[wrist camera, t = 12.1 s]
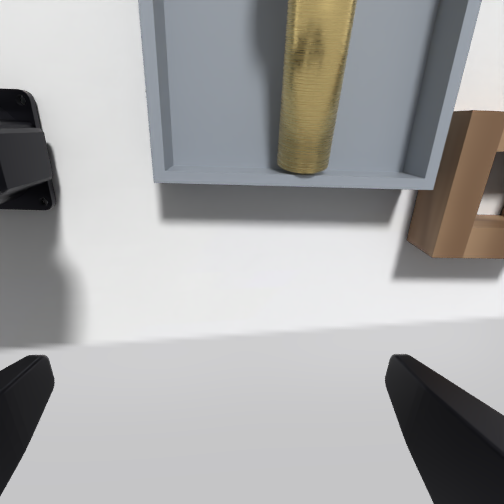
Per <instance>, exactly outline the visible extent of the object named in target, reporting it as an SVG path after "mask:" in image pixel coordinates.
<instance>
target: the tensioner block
mask: <svg viewBox="0 0 504 504" xmlns="http://www.w3.org/2000/svg"><path fill="white" fill-rule="evenodd" d="M496 152H504V112H501V111H477V110H470V111H453V114H452V118H451V122H450V126H449V130H448V134H447V138H446V141H445V145H444V149H443V153H442V157H441V161H440V165H439V169H438V173H437V177H436V180H435V184H434V188H433V190H418V194H417V198H416V203H415V207H414V211H413V215H412V219H411V223H410V228H409V232H408V236H407V241H408V242H410V243H411V244H413V245H414V246H416V247H417V248H419V249H420V250H422V251H423V252H425V253H426V254H427V255H429V256H430V257H432V258H497V259H504V207H503V210H502V213H501V215H476V214H477V211H478V208H479V205H480V202H481V199H482V196H483V193H484V189H485V186H486V183H487V180H488V177H489V174H490V171H491V168H492V164H493V161H494V158H495V155H496Z"/></svg>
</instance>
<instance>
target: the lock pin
mask: <svg viewBox="0 0 504 504" xmlns="http://www.w3.org/2000/svg"><path fill="white" fill-rule="evenodd" d="M356 4H357V0H288V9H287V23H286V38H285V52H284V67H283V81H282V95H281V110H280V124H279V139H278V153H277V164H278V165H279V166H280V167H281V168H283V169H285V170H287V171H290V172H295V173H303V174H310V173H318V172H321V171H324V170H326V169H327V167H328V164H329V158H330V152H331V146H332V141H333V135H334V129H335V124H336V118H337V112H338V107H339V101H340V95H341V89H342V84H343V78H344V72H345V67H346V61H347V55H348V50H349V44H350V38H351V32H352V27H353V21H354V15H355V10H356Z"/></svg>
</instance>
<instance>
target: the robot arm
mask: <svg viewBox="0 0 504 504" xmlns="http://www.w3.org/2000/svg"><path fill="white" fill-rule="evenodd" d="M21 96H23V97H24V98H25V100H26V103H25V104H24V105H23V104H22V103H21V101H20V98H21ZM52 176H53V174H52V169H51V165H50V160H49V155H48V150H47V145H46V140H45V136H44V133H43V131H42V130H41V128H40V123H39V118H38V114H37V109H36V104H35V100H34V97H33V96H32V95H31V94H30V93H29V92H27V91H24V90H19V89H0V209H19V210H48V209H51V208H53V207H54V206H55V204H56V200H55V195H54V190H53V185H52V180H51V178H52ZM43 198H45V199H46V200H47V201H48V204H45V203H44V202H43ZM385 383H386V388H387V391H388V394H389V397H390V399H391V402H392V405H393V408H394V411H395V413H396V416H397V419H398V422H399V425H400V428H401V431H402V433H403V436H404V439H405V441H406V444H407V446H408V449H409V451H410V453H411V455H412V458H413V460H414V462H415V464H416V466H417V468H418V470H419V473H420V475H421V477H422V479H423V481H424V483H425V486H426V488H427V490H428V492H429V494H430V496H431V499H432V501H433V503H434V504H504V415H502V414H500V413H499V412H497V411H496V410H494V409H492V408H491V407H490V406H488V405H486V404H485V403H483V402H482V401H480V400H479V399H477V398H475V397H474V396H472V395H470V394H469V393H467V392H466V391H465V390H463V389H461V388H460V387H458V386H457V385H455V384H454V383H452V382H450V381H449V380H447V379H446V378H444V377H443V376H441V375H440V374H438V373H436V372H435V371H433V370H432V369H430V368H429V367H427V366H425V365H424V364H422V363H421V362H419V361H418V360H416V359H414V358H413V357H411V356H410V355H407V354H394V355H392V356H391V358H390V361H389V365H388V369H387V372H386V376H385ZM53 388H54V376H53V372H52V369H51V365H50V361H49V358H48V357H47V356H45V355H29V356H26V357H24V358H23V359H21V360H19V361H17V362H16V363H14V364H12V365H10V366H8V367H6V368H5V369H3V370H1V371H0V496H1V494H2V492H3V490H4V488H5V487H6V485H7V483H8V482H9V480H10V478H11V476H12V474H13V473H14V471H15V469H16V467H17V465H18V463H19V462H20V460H21V458H22V456H23V454H24V453H25V451H26V448H27V446H28V444H29V442H30V440H31V438H32V436H33V433H34V431H35V429H36V427H37V424H38V422H39V420H40V418H41V415H42V413H43V411H44V409H45V406H46V404H47V402H48V399H49V397H50V395H51V393H52V391H53Z"/></svg>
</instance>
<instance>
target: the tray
mask: <svg viewBox="0 0 504 504" xmlns="http://www.w3.org/2000/svg"><path fill="white" fill-rule="evenodd" d="M481 1H482V0H357V4H356V10H355V15H354V21H353V27H352V32H351V38H350V44H349V50H348V55H347V61H346V67H345V72H344V78H343V84H342V89H341V95H340V101H339V107H338V112H337V118H336V124H335V129H334V135H333V141H332V146H331V152H330V158H329V164H328V167H327V169H326V170H324V171H321V172H318V173H310V174H303V173H295V172H290V171H287V170H285V169H283V168H281V167H280V166H279V165H278V164H277V153H278V139H279V124H280V110H281V95H282V81H283V67H284V52H285V38H286V23H287V9H288V0H138V2H139V14H140V26H141V38H142V49H143V61H144V73H145V84H146V96H147V108H148V120H149V131H150V143H151V155H152V166H153V178H154V183H184V184H222V185H260V186H297V187H335V188H373V189H410V190H433V188H434V184H435V180H436V177H437V173H438V169H439V165H440V161H441V157H442V153H443V149H444V145H445V141H446V138H447V134H448V130H449V126H450V122H451V118H452V114H453V110H454V106H455V103H456V99H457V95H458V91H459V87H460V83H461V79H462V75H463V71H464V68H465V64H466V60H467V56H468V52H469V48H470V44H471V40H472V36H473V32H474V29H475V25H476V21H477V17H478V13H479V9H480V5H481Z"/></svg>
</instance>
